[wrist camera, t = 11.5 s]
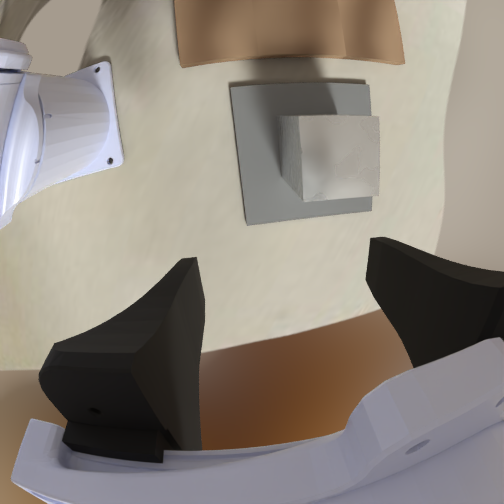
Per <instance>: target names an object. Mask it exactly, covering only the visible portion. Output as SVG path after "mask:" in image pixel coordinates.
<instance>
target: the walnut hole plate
mask: <svg viewBox="0 0 504 504" xmlns="http://www.w3.org/2000/svg"><path fill="white" fill-rule="evenodd" d="M174 5H175V18H176V29H177V39H178V49H179V58H180V66H181V67H182V68H186V67H192V66H198V65H204V64H211V63H219V62H227V61H236V60H247V59H261V58H283V57H316V58H339V59H352V60H363V61H372V62H380V63H387V64H393V65H400V64H405V59H404V51H403V44H402V38H401V32H400V26H399V21H398V16H397V11H396V6H395V2H394V0H174Z"/></svg>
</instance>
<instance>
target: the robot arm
mask: <svg viewBox="0 0 504 504" xmlns="http://www.w3.org/2000/svg"><path fill="white" fill-rule="evenodd" d="M31 61H32V56H31V55H29V54H28V50H27V47H26V45H25V44H24V43H21V42H18V41H14V40H9V39H3V38H0V229H1V228H3V227H4V226H5V225H7V224H8V223H10V222H11V219H12V214H13V211H14V209H15V207H16V206H17V204H19V203H21V202H22V201H24V200H26V199H27V198H29V197H31V196H33V195H34V194H36V193H38V192H40V191H41V190H43V189H45V188H47V187H49V186H51V185H54V184H57V183H60V182H63V181H66V180H70V179H73V178H76V177H80V176H83V175H87V174H90V173H94V172H98V171H101V170H105V169H109V168H113V167H117V166H120V165H121V164H122V163H123V162H124V154H123V149H122V143H121V137H120V131H119V125H118V119H117V112H116V104H115V97H114V88H113V79H112V69H111V64H110V63H109V62H107V61H103V62H100V63H97V64H94V65H91V66H89V67H86V68H84V69H81V70H78V71H76V72H74V73H71V74H69V75H67V76H65V77H62V76H55V75H47V74H39V73H30V72H24V71H21V69H26V70H27V69H28V67H29V65H30V63H31ZM98 67H100V71H99V72H98V73H96V69H97V68H98ZM109 158H112V159H113V164H110V163H109ZM366 282H367V284H368V286H369V288H370V290H371V292H372V294H373V296H374V298H375V300H376V301H377V303H378V304H379V306H380V307H381V309H382V310H383V312H384V313H385V315H386V316H387V318H388V319H389V321H390V322H391V324H392V325H393V327H394V328H395V330H396V331H397V333H398V335H399V337H400V338H401V340H402V342H403V344H404V346H405V349H406V351H407V353H408V355H409V357H410V360H411V363H412V365H413V369H411V370H408V371H406V372H404V373H401V374H399V375H397V376H395V377H393V378H390V379H389V380H386V381H384V382H383V383H382V384H380V385H379V386H378V387H376V388H375V389H374V390H372V391H371V392H369V393H368V394H367V395H365V396H364V397H363V399H362V400H361V401H360V403H359V404H358V405H357V407H356V408H355V409H354V411H353V412H352V414H351V415H350V417H349V420H348V423H347V425H346V428H345V429H344V430H342V431H339V432H336V433H334V434H331V435H327V436H323V437H318V438H313V439H308V440H303V441H297V442H291V443H285V444H278V445H271V446H263V447H253V448H243V449H231V450H211V451H209V450H208V451H202V442H201V428H200V411H199V364H200V355H201V348H202V340H203V332H204V324H205V298H204V293H203V288H202V283H201V277H200V272H199V267H198V262H197V257H192V258H183V259H181V260H180V261H178V262H177V263H176V264H175V266H174V267H173V268H172V269H171V270H170V271H169V272H168V273H167V274H166V275H165V276H164V277H163V278H162V279H161V280H160V281H159V282H158V283H157V284H156V285H155V286H154V287H152V288H151V289H150V290H149V291H148V292H147V293H146V294H145V295H144V296H143V297H141V298H140V299H139V300H138V301H136V302H135V303H134V304H132V305H131V306H130V307H128V308H127V309H125V310H124V311H122V312H121V313H119V314H117V315H116V316H114V317H113V318H111V319H109V320H108V321H106V322H104V323H102V324H100V325H98V326H96V327H94V328H92V329H90V330H88V331H86V332H84V333H81V334H79V335H76V336H74V337H71V338H68V339H66V340H63V341H60V342H57V343H54V345H53V347H52V349H51V351H50V353H49V354H48V356H47V358H46V360H45V362H44V364H43V366H42V368H41V370H40V372H39V382H40V385H41V388H42V390H43V391H44V393H45V394H46V396H47V397H48V398H49V400H50V401H51V402H52V403H53V404H54V406H55V407H56V408H57V409H58V410H59V411H60V413H62V415H63V416H64V417H65V418H66V419H67V420H68V422H67V426H66V429H64V428H62V427H60V426H59V425H56V424H53V423H48V422H44V421H40V420H36V419H30V422H29V424H28V427H27V430H26V432H25V435H24V438H23V441H22V444H21V447H20V450H19V453H18V456H17V459H16V462H15V465H14V469H13V472H12V476H11V480H12V482H13V483H15V484H17V485H18V486H20V487H21V488H23V489H24V490H26V491H27V492H29V493H31V494H33V495H34V496H36V497H38V498H39V499H41V500H43V501H45V502H46V503H48V504H504V272H501V271H491V270H486V269H481V268H476V267H471V266H467V265H462V264H459V263H456V262H452V261H449V260H446V259H443V258H440V257H437V256H435V255H432V254H429V253H427V252H424V251H422V250H419V249H417V248H414V247H412V246H409V245H407V244H404V243H402V242H399V241H396V240H393V239H390V238H386V237H376V238H370V247H369V256H368V264H367V272H366Z"/></svg>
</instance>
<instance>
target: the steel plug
mask: <svg viewBox="0 0 504 504" xmlns="http://www.w3.org/2000/svg"><path fill="white" fill-rule="evenodd" d="M277 127H278V138H279V150H280V163H281V176H282V179H283V180H284V181H285V182H286V183H287V184H288V185H289V186H290V187H291V189H292V190H293V191H294V192H295V193H296V194H297V195H298V196H299V198H300V199H301V200H302V201H303V202H312V201H322V200H333V199H344V198H356V197H369V196H379V179H380V131H379V117H378V116H365V115H348V114H307V115H284V116H277Z"/></svg>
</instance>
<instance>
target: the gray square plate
mask: <svg viewBox="0 0 504 504" xmlns="http://www.w3.org/2000/svg"><path fill="white" fill-rule="evenodd" d="M230 90H231V98H232V107H233V115H234V123H235V132H236V140H237V148H238V157H239V165H240V173H241V182H242V190H243V198H244V206H245V215H246V223H247V226H249V225H257V224H265V223H272V222H280V221H288V220H296V219H305V218H313V217H322V216H330V215H339V214H348V213H357V212H367V211H372V196H369V197H356V198H344V199H333V200H322V201H312V202H303V201H302V200H301V199H300V198H299V196H298V195H297V194H296V193H295V192H294V191H293V190H292V189H291V187H290V186H289V185H288V184H287V183H286V182H285V181H284V180H283V179H282V176H281V163H280V150H279V138H278V127H277V116H284V115H307V114H348V115H365V116H371V101H370V88H369V85H365V84H350V83H279V84H263V85H250V86H240V87H231V88H230Z"/></svg>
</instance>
